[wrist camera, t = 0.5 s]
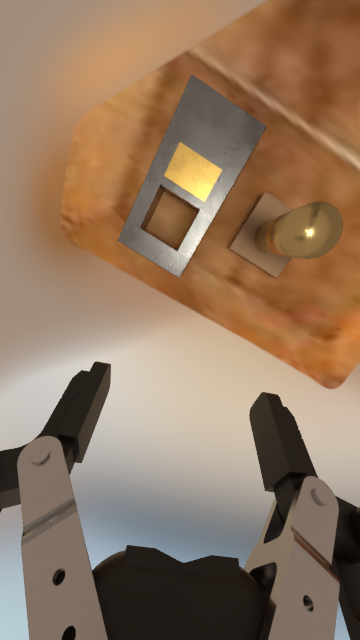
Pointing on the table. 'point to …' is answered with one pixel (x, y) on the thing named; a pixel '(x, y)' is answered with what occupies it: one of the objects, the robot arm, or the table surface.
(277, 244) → the peg
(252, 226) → the pad
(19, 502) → the robot arm
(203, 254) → the table surface
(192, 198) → the rack plate
